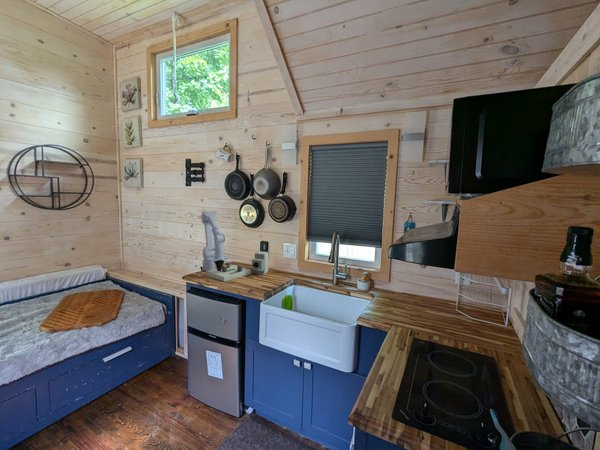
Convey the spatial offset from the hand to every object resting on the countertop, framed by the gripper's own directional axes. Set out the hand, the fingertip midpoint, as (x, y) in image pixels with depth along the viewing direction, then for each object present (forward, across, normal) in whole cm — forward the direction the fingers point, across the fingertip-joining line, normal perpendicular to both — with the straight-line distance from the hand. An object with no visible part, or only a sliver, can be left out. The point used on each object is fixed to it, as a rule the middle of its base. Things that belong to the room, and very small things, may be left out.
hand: (219, 270), depth 199 cm
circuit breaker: (+5, +25, -14) cm, 29 cm away
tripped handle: (+1, +4, 0) cm, 4 cm away
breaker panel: (+4, +8, 0) cm, 9 cm away
